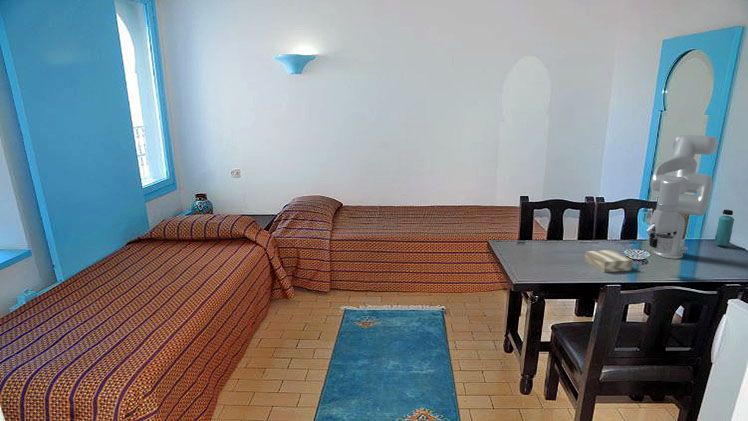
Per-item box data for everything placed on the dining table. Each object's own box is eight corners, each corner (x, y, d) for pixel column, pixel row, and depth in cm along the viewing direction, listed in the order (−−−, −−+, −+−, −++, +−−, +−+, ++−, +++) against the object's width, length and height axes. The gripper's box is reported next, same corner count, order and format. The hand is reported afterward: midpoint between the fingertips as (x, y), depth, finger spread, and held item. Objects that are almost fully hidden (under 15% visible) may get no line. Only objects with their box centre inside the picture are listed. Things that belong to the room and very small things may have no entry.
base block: (610, 259, 212) (611, 249, 211) (631, 270, 199) (632, 260, 198) (584, 261, 210) (585, 251, 209) (603, 272, 197) (605, 262, 196)
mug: (674, 250, 191) (676, 236, 189) (666, 254, 187) (669, 239, 186) (650, 244, 199) (652, 230, 197) (642, 247, 196) (645, 233, 194)
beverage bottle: (731, 248, 227) (740, 211, 222) (719, 248, 227) (727, 211, 222) (722, 244, 234) (730, 208, 228) (709, 244, 234) (717, 208, 229)
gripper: (677, 204, 193) (670, 241, 198) (642, 206, 190) (636, 244, 195) (691, 208, 186) (684, 247, 191) (655, 211, 183) (649, 250, 188)
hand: (660, 245), depth 193 cm, fingers closed on mug, 6 cm apart
